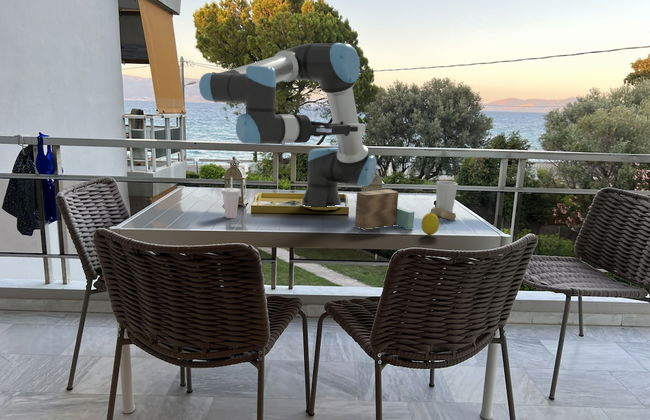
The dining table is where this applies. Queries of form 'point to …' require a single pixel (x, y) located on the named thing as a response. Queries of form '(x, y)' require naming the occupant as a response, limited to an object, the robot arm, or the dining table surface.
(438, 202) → the cup
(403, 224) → the rail
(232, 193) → the smoothie
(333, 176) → the robot arm
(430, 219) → the lemon
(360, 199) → the slab
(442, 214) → the roller
